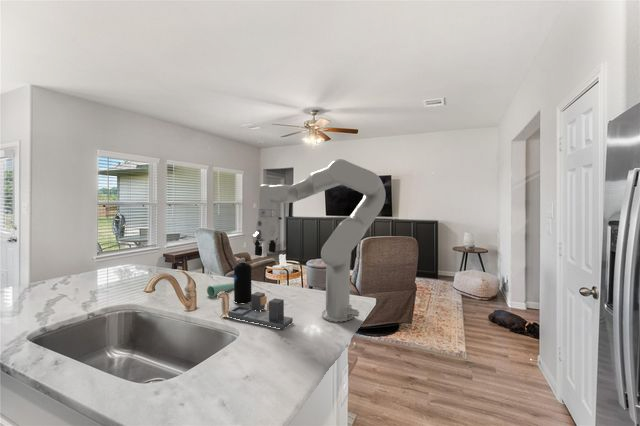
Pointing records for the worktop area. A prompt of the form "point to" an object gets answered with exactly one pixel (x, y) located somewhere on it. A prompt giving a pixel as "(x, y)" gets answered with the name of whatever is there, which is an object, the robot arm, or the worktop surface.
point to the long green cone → (219, 288)
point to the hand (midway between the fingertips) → (265, 253)
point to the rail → (263, 314)
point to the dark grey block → (258, 301)
